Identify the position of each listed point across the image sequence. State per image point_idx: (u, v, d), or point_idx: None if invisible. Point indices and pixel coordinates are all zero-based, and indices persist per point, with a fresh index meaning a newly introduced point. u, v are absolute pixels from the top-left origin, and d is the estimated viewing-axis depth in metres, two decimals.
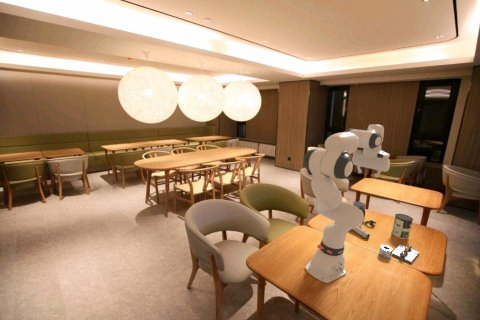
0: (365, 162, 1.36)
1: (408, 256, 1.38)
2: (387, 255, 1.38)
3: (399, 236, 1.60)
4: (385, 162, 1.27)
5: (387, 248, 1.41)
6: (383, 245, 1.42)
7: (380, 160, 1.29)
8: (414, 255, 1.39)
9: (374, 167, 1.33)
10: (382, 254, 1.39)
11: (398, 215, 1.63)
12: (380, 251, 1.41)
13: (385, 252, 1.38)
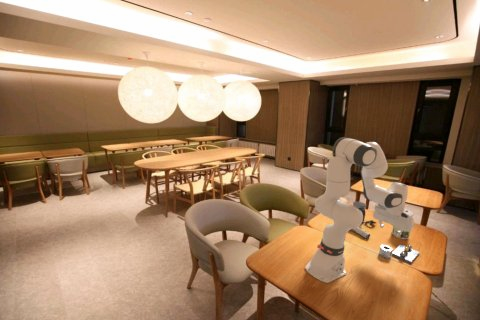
0: (387, 218, 1.36)
1: (408, 256, 1.38)
2: (387, 255, 1.38)
3: (399, 236, 1.60)
4: (410, 222, 1.27)
5: (387, 248, 1.41)
6: (383, 245, 1.42)
7: (404, 219, 1.29)
8: (414, 255, 1.39)
9: (397, 225, 1.32)
10: (382, 254, 1.39)
11: None
12: (380, 251, 1.41)
13: (385, 252, 1.38)
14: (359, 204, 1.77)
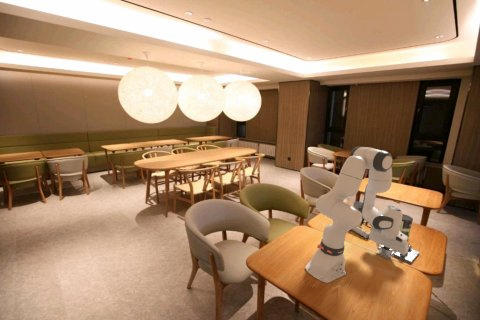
0: (382, 240, 1.39)
1: (408, 256, 1.38)
2: (387, 255, 1.38)
3: None
4: (404, 246, 1.30)
5: (387, 248, 1.41)
6: None
7: (398, 243, 1.32)
8: (414, 255, 1.39)
9: (392, 248, 1.36)
10: (382, 254, 1.39)
11: None
12: (380, 251, 1.41)
13: (385, 252, 1.38)
14: (359, 204, 1.77)
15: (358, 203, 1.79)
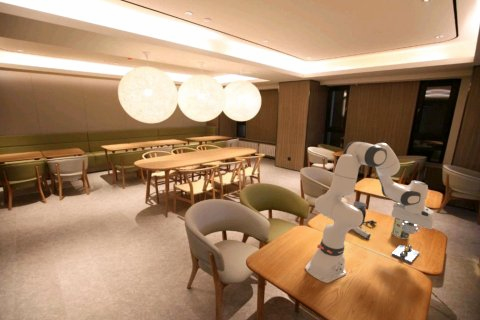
0: (407, 216, 1.37)
1: (408, 256, 1.38)
2: (412, 231, 1.36)
3: (399, 236, 1.60)
4: (430, 220, 1.28)
5: (411, 224, 1.39)
6: None
7: (424, 217, 1.30)
8: (414, 255, 1.39)
9: (417, 223, 1.33)
10: (406, 230, 1.37)
11: None
12: (404, 227, 1.39)
13: (410, 228, 1.36)
14: (359, 204, 1.77)
15: (358, 203, 1.79)
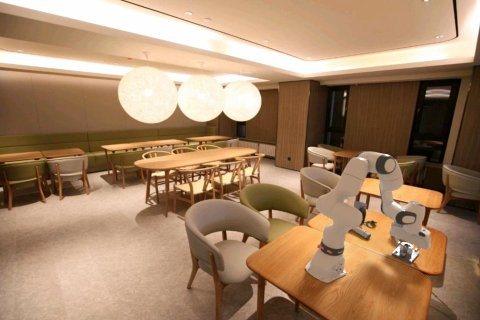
0: (404, 236, 1.40)
1: (408, 256, 1.38)
2: (408, 252, 1.39)
3: None
4: (427, 241, 1.31)
5: (408, 245, 1.42)
6: (404, 242, 1.43)
7: (421, 238, 1.33)
8: (414, 255, 1.39)
9: (414, 243, 1.36)
10: None
11: None
12: (401, 248, 1.42)
13: (406, 249, 1.39)
14: (360, 204, 1.77)
15: (359, 203, 1.79)
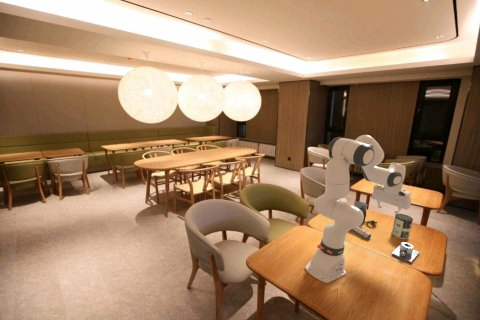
0: (385, 197, 1.41)
1: (408, 256, 1.38)
2: (408, 252, 1.39)
3: (399, 236, 1.60)
4: (407, 200, 1.32)
5: (408, 245, 1.42)
6: (404, 242, 1.43)
7: (401, 198, 1.34)
8: (414, 255, 1.39)
9: (395, 204, 1.37)
10: None
11: (398, 215, 1.63)
12: (401, 248, 1.42)
13: (406, 249, 1.39)
14: (360, 204, 1.77)
15: (359, 203, 1.79)
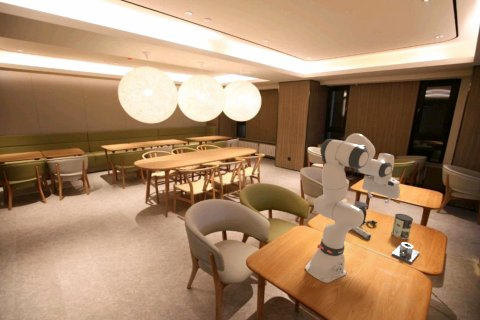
0: (375, 188, 1.42)
1: (408, 256, 1.38)
2: (408, 252, 1.39)
3: (399, 236, 1.60)
4: (396, 190, 1.33)
5: (408, 245, 1.42)
6: (404, 242, 1.43)
7: (391, 187, 1.36)
8: (414, 255, 1.39)
9: (385, 194, 1.39)
10: None
11: (398, 215, 1.63)
12: (401, 248, 1.42)
13: (406, 249, 1.39)
14: (360, 204, 1.77)
15: (359, 203, 1.79)
